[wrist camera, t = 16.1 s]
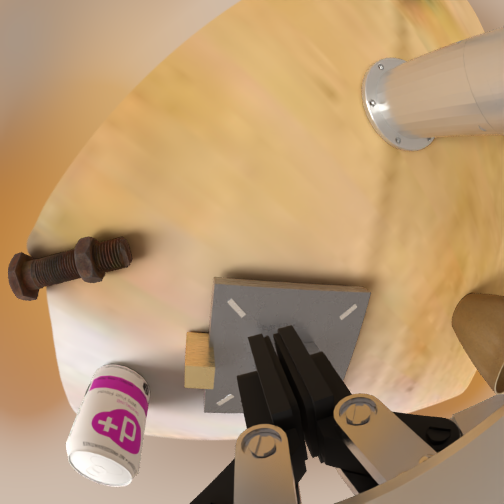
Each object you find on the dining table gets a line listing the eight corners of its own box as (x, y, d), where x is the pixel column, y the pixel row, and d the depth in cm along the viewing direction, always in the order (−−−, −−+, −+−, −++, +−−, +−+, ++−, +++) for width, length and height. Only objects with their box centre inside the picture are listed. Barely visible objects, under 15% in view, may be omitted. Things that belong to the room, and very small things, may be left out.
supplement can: (116, 350, 33) (83, 437, 19) (162, 389, 35) (154, 479, 21) (84, 379, 33) (51, 458, 19) (128, 413, 36) (112, 494, 21)
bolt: (136, 249, 32) (35, 274, 30) (122, 215, 29) (16, 246, 27) (135, 288, 28) (25, 311, 26) (117, 253, 25) (2, 283, 23)
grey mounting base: (190, 271, 32) (188, 296, 25) (359, 283, 35) (387, 305, 29) (185, 396, 36) (184, 431, 29) (325, 394, 40) (342, 424, 33)
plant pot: (455, 268, 39) (530, 305, 23) (495, 278, 42) (554, 309, 26) (423, 351, 42) (481, 403, 27) (467, 348, 45) (518, 387, 30)
